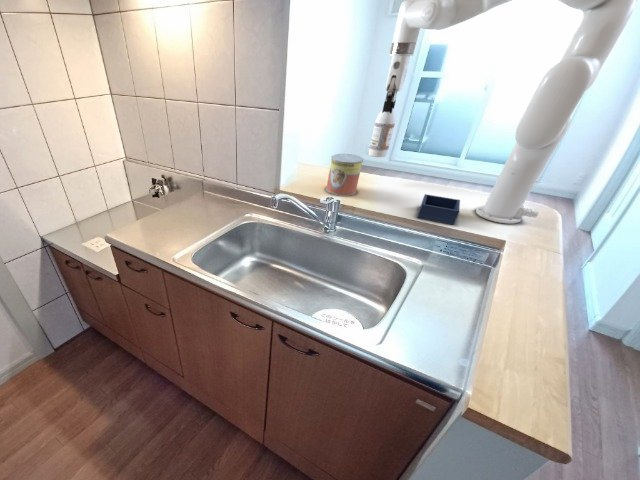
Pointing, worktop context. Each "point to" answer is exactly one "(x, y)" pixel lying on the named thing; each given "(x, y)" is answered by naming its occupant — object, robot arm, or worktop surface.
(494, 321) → the worktop surface
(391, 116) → the bath foam
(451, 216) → the holder
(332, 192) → the canned food
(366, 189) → the worktop surface
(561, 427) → the worktop surface
